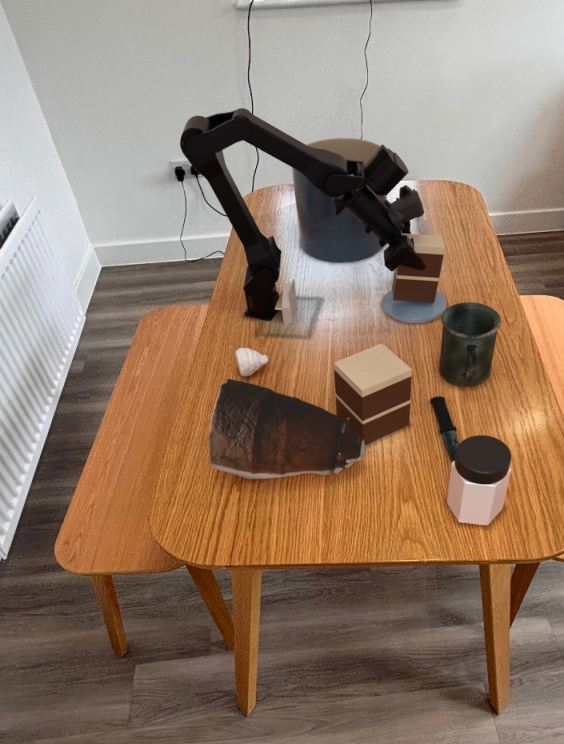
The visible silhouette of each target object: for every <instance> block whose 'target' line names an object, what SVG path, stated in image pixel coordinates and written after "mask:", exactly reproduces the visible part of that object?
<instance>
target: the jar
mask: <svg viewBox="0 0 564 744" xmlns="http://www.w3.org/2000/svg"><path fill="white" fill-rule="evenodd" d="M511 461H512V451H511V450H510V448H509V447H508V445H507V444H506V443H505V442H504V441H502V440H501V439H499V438H497V437H494V436H491V435H485V434H478V435H472V436H469V437H466V438H465V439H463V440H461V441H460V442H459V445H458V447H457V450H456V454H455V460H454V461H453V462H452V461H451V463H450V474H449V481H448V488H447V497H446V504H447V506H448V507H449V509H450V510H451V512H452V514H453V515H454V517H455V519H456V520H457V522H458V523H461V524H469V525H479V526H489V525H490V524H491V523H492V521H494V519H495V518H496V517H497V516H498V515H499V514H500V512H501V511H502V510H503V508H504V504H505V500H506V495H507V491H508V487H509V483H510V478H511V474H512V468H511Z"/></svg>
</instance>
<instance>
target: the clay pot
mask: <svg viewBox="0 0 564 744" xmlns="http://www.w3.org/2000/svg"><path fill="white" fill-rule="evenodd" d="M210 417H211V418H210V422H209V429H208V435H207V439H206V441H207V446H208V447H207V448H208V452H209V456H208V458H209V459H208V465H209V467H211V468H212V469H214V470H217V471H220V472H224V473H228V474H232V475H235V476H237V477H238V476H239V477H241V478H244V479H246V480H265V479H280V478H281V479H282V478H286V477H294V476H299V475H304V474H315V475H319V476H322V477H323V476H327V475H332V474H339V473H340V472H341V471H343V470H345V469H349V468H350V467H352V465H353V464H354V463H356V462H358V461H361V460H362V459H363V458H364V457H365V455H366V453H367V448H366V445H365V443H364V440H363V438H362V437H361V436H360V434H359V433H358V432H357V431H356V430H355V429H354V428H352V427H351V426H350V425H349V419H350V417H345V418H339V417H338V416H337V414H334V413H332V412H330V411H328V410H326V409H324V408H323V407H321V406H318V405H316V404H313V403H310V402H307V401H304V400H302V399H300V398H299V397H296V396H290V395H287V394H283V393H279V392H276V391H274V390H273V389H271V388H268V387H264V386H260V385H258V384H254V383H250V382H247V381H242V380H235V379H232V378H226V379H225V382H224V383H222V384H221V385H220V386H219V387H218V392H217V396H216V399H215V403H214V405H213V412H212V414H211V416H210ZM338 456H339V458H337V457H338Z"/></svg>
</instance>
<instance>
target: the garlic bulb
mask: <svg viewBox="0 0 564 744" xmlns="http://www.w3.org/2000/svg"><path fill="white" fill-rule="evenodd" d="M234 354H235V359H236V363H237V367H238V371H239V374H240V376H241V377H243V378H244V377H245V378H246V377H249V376H252V375H253V374H254V373H256V371H259V369H260V368H261V367H263V366H264V365H266V364H268V362H269V357H268V355H267V354H261V353H260V352H259V351H257V350H255V349H252V348H250V347H239V348H238V349H237V350H236V351H234Z"/></svg>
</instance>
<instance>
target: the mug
mask: <svg viewBox="0 0 564 744" xmlns="http://www.w3.org/2000/svg"><path fill="white" fill-rule="evenodd" d="M440 317H441V319H440V320H441V324H442V332H441V344H440V355H439V364H438V369H439V373H440V375H441V376H442V378H443V379H444V380H445V381H446V382H447V383H449V384H451V385H454V386H457V387H463V388H464V387H465V388H466V387H468V388H469V387H476V386H478V385H480V384H482V383H484V382H485V381H486V380H487V379H488V378H489V377H490V375H491V371H492V365H493V359H494V353H495V346H496V341H497V334H498V330H499V329H500V328H501V325H502V318H501V315H500V313H498V312H497V310H495V309H494V308H493V307H491V306H489V305H487V304H483V303H480V302H475V301H473V302H471V301H465V302H460V303H455V304H452V305H450V306H449V307H446V310H445V311H444V312H443V314H442V315H441V316H440Z"/></svg>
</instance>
